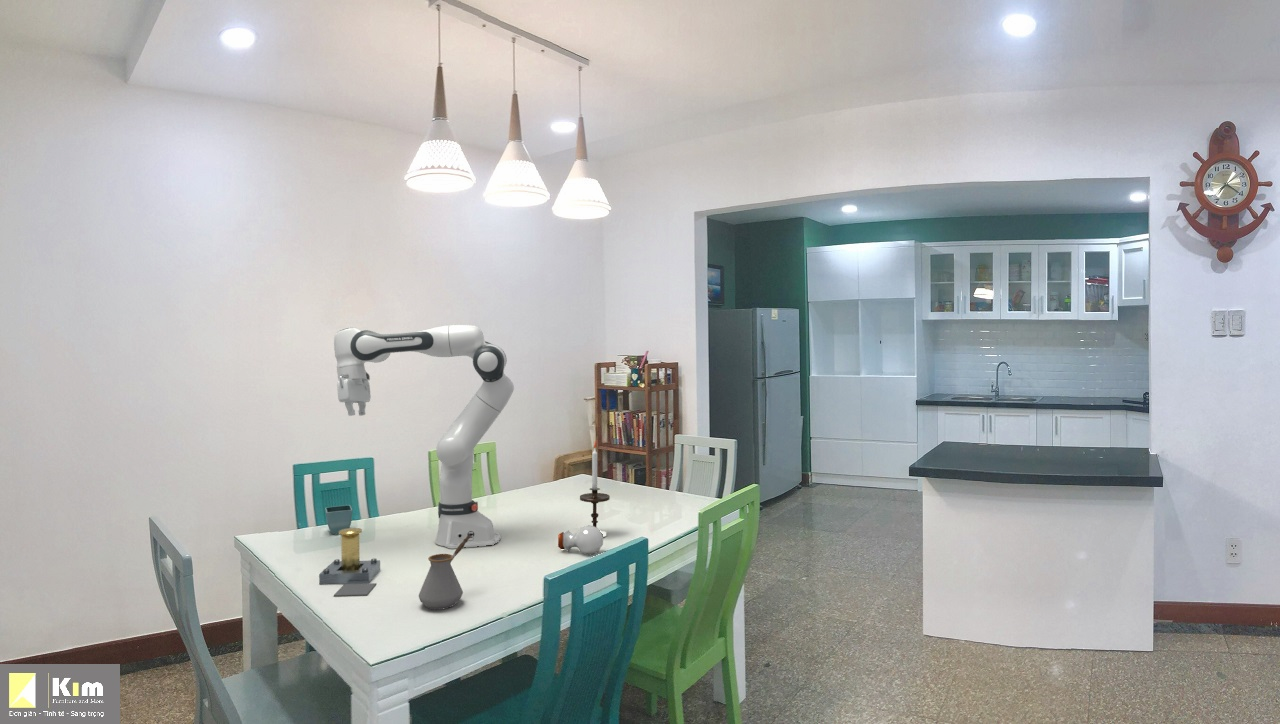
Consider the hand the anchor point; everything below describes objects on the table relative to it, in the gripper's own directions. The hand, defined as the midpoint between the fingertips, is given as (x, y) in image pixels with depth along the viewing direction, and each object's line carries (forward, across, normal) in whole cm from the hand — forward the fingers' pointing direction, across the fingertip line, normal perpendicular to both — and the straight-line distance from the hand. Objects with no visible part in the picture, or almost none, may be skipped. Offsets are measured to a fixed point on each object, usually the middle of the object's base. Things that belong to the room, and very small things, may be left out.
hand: (357, 415), depth 243 cm
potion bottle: (+58, -3, -68) cm, 90 cm away
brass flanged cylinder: (+49, -26, -2) cm, 56 cm away
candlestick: (+56, +18, -72) cm, 94 cm away
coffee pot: (+57, -44, -35) cm, 80 cm away
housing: (+49, -26, -2) cm, 56 cm away
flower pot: (+41, +23, +21) cm, 51 cm away
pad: (+51, -38, -7) cm, 64 cm away
